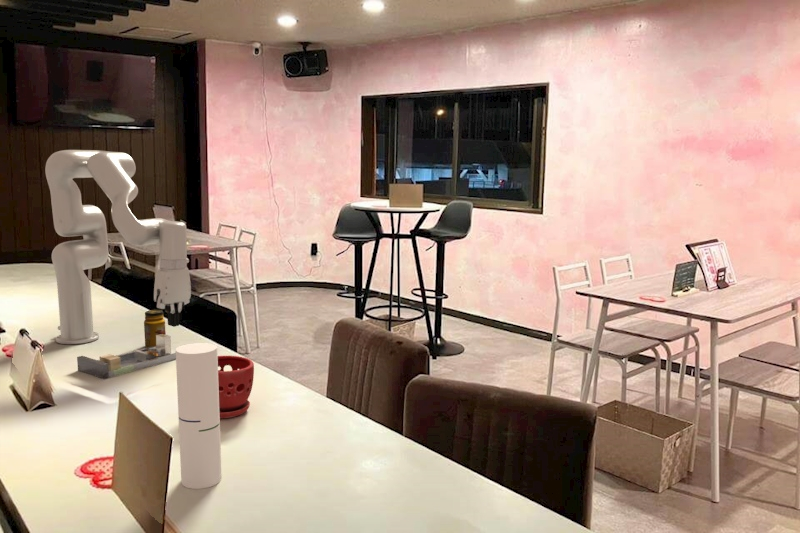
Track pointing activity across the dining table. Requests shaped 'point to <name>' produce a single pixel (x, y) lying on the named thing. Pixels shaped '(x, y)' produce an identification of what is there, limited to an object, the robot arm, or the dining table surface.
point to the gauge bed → (127, 364)
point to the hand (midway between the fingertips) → (173, 325)
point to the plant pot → (234, 385)
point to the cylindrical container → (198, 415)
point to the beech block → (111, 361)
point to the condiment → (153, 326)
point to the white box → (162, 347)
